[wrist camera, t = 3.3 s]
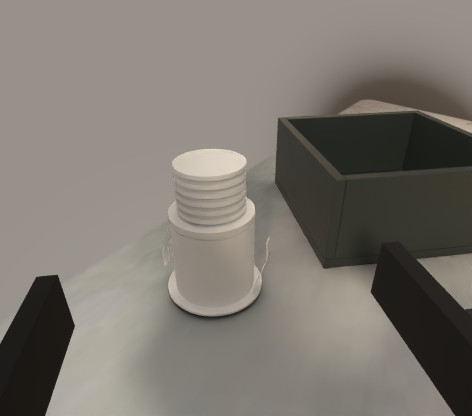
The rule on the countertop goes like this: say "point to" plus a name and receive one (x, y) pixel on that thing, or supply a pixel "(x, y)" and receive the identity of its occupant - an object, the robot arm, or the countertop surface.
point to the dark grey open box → (377, 184)
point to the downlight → (212, 234)
